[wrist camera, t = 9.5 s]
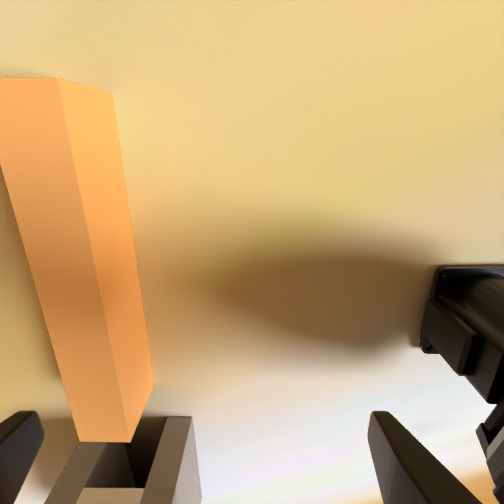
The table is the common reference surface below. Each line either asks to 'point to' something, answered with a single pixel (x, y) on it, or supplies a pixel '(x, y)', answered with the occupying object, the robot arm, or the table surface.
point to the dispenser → (120, 475)
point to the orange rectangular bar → (79, 246)
